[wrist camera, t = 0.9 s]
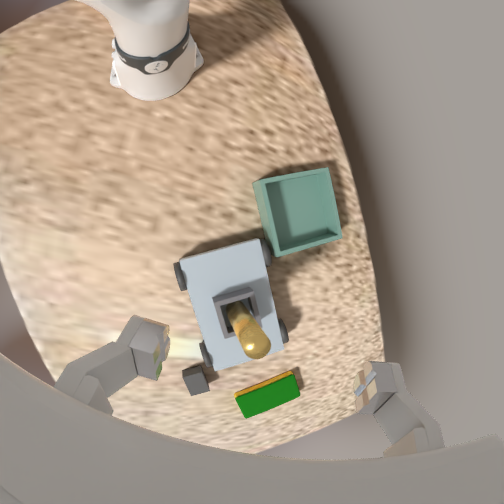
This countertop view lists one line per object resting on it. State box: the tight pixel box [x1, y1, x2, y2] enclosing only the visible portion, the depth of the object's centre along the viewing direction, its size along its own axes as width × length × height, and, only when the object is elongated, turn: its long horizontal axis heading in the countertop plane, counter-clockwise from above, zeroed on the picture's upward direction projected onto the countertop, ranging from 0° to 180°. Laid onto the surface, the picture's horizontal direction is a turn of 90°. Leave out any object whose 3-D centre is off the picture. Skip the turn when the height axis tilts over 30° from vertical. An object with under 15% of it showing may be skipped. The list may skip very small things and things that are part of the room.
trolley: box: [174, 238, 289, 371], centre depth 49 cm, size 22×16×8 cm
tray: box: [252, 167, 342, 257], centre depth 51 cm, size 14×14×5 cm
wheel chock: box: [182, 365, 210, 396], centre depth 52 cm, size 5×4×3 cm
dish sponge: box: [234, 371, 300, 418], centre depth 57 cm, size 7×14×2 cm, turn 109°
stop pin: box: [226, 300, 271, 359], centre depth 41 cm, size 4×4×15 cm
